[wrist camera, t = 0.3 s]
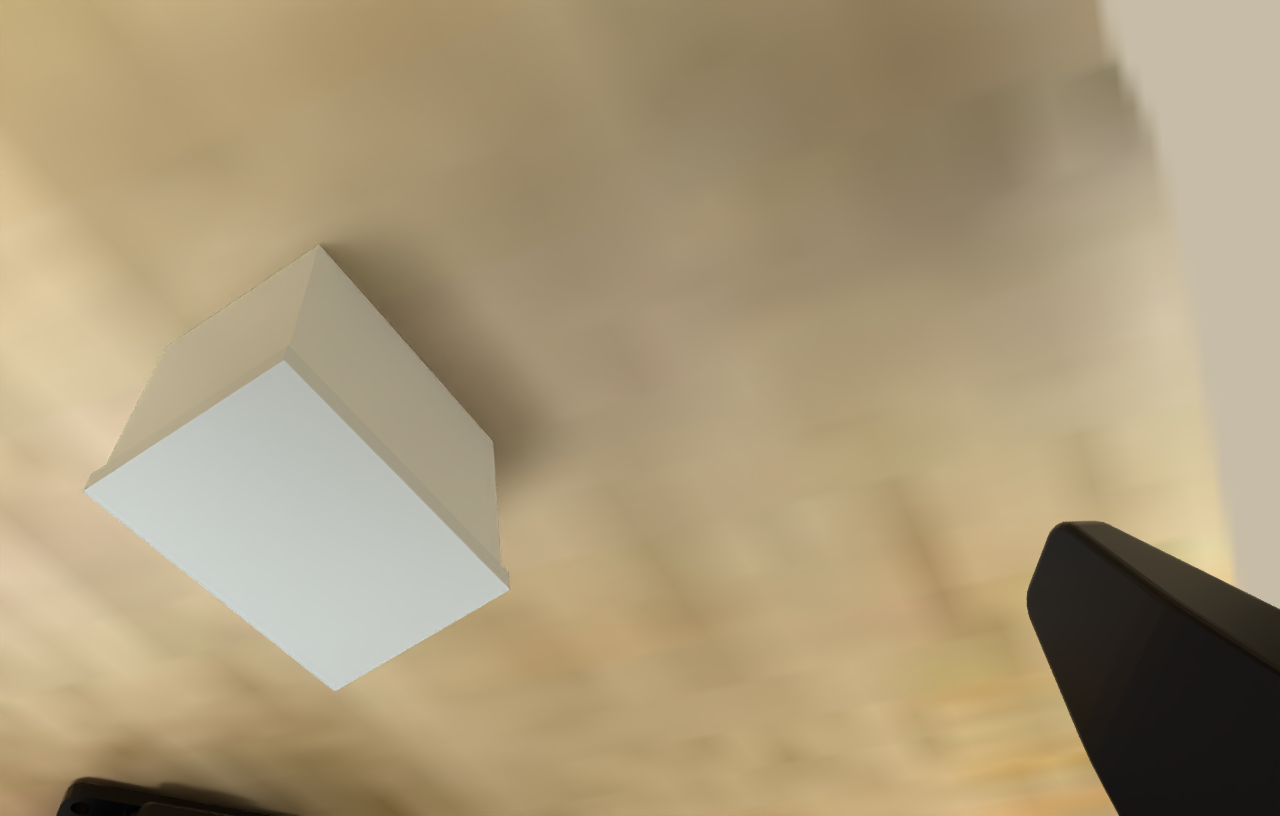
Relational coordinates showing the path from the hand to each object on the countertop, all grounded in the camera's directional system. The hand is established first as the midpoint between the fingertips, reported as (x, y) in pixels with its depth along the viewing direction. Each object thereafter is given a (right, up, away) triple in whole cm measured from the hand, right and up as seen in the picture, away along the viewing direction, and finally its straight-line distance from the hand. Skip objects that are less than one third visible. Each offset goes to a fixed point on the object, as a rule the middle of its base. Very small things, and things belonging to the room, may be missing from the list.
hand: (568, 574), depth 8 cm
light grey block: (-6, +2, +14) cm, 15 cm away
